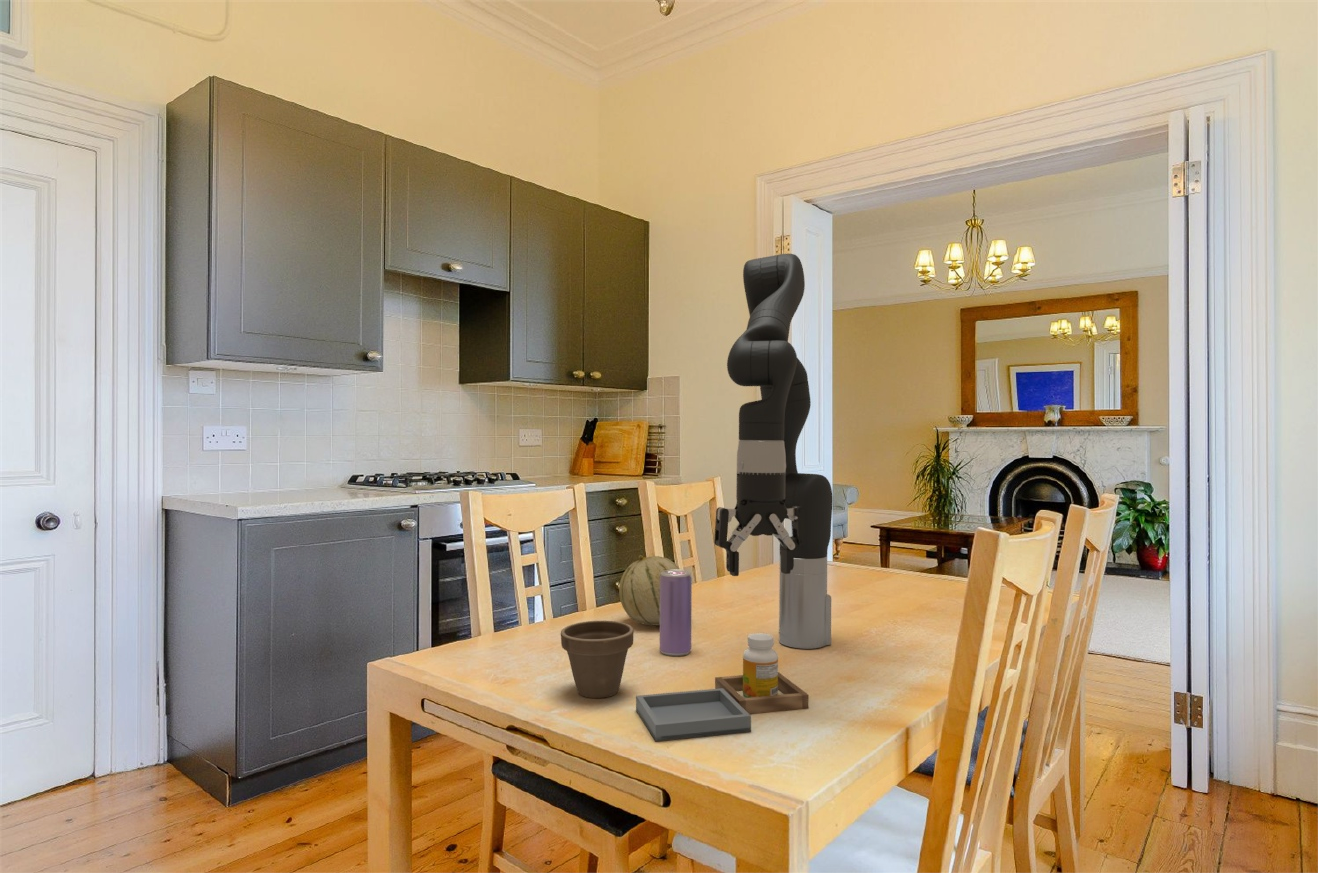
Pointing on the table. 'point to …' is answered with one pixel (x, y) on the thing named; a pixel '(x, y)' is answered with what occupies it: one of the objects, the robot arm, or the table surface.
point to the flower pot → (597, 655)
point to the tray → (692, 714)
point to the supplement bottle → (760, 667)
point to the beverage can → (675, 612)
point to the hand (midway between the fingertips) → (759, 574)
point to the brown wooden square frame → (788, 701)
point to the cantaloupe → (644, 588)
